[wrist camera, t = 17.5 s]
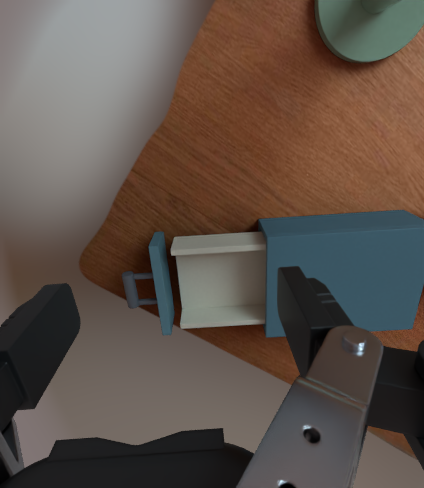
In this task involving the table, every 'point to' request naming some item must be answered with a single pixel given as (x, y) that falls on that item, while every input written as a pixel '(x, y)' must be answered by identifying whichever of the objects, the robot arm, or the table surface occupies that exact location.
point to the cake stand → (368, 27)
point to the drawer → (207, 280)
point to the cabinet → (351, 264)
